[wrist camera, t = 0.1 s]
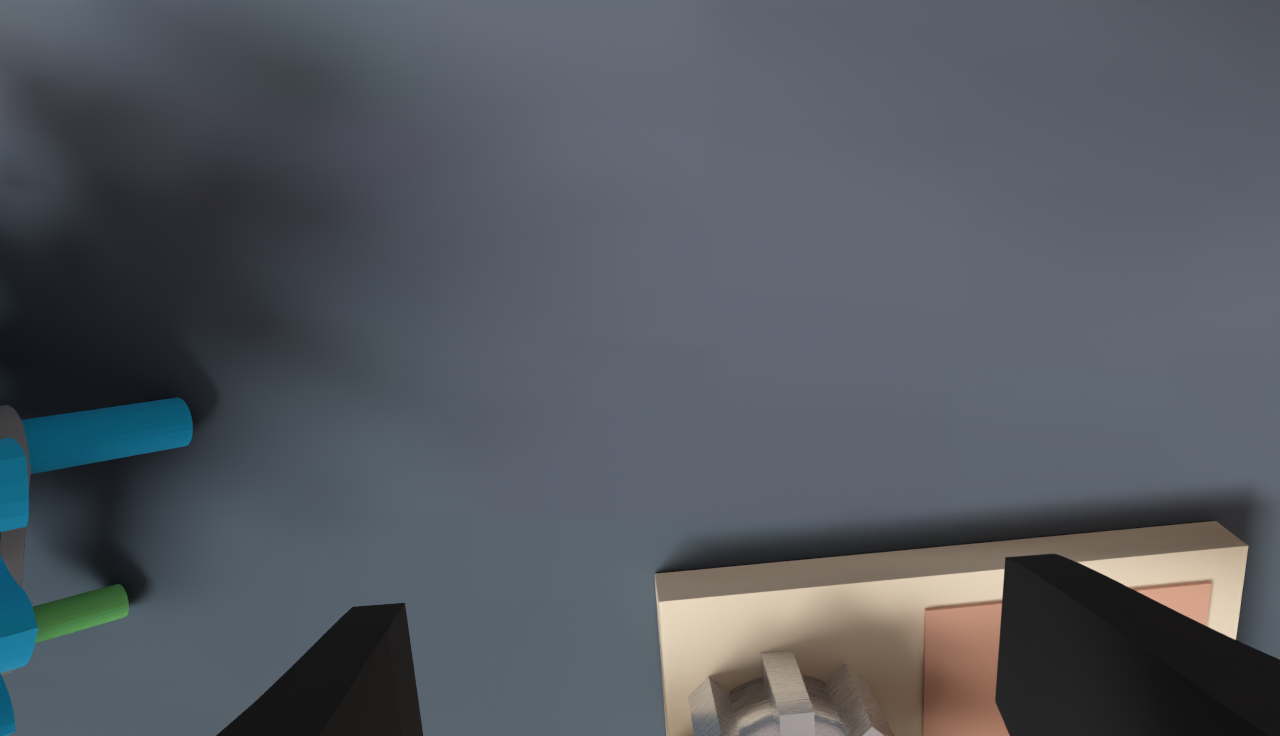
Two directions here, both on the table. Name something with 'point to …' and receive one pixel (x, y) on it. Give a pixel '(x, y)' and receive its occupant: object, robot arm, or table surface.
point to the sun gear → (788, 704)
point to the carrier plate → (916, 617)
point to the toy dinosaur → (3, 464)
